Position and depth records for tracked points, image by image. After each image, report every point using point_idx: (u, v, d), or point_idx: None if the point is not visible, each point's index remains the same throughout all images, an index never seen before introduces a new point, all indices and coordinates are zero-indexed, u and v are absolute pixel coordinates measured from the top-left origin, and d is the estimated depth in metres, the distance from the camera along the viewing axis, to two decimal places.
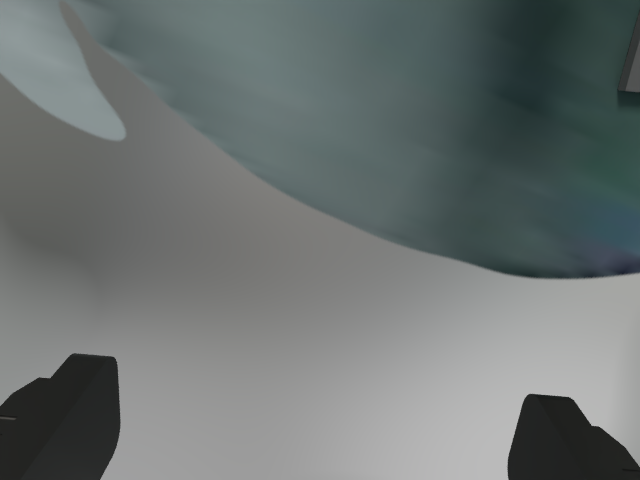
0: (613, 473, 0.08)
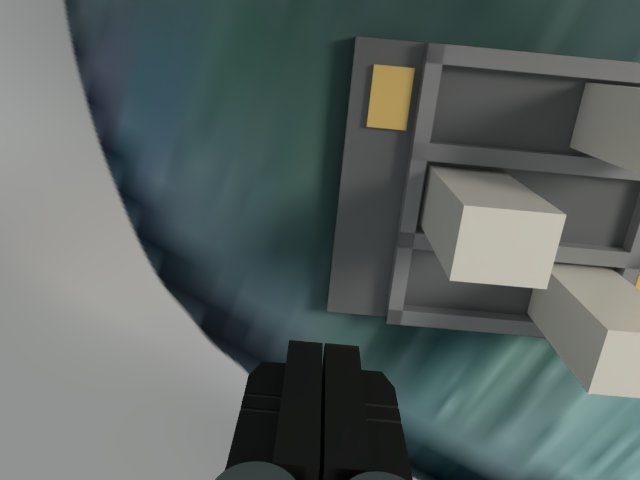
0: (354, 403, 0.09)
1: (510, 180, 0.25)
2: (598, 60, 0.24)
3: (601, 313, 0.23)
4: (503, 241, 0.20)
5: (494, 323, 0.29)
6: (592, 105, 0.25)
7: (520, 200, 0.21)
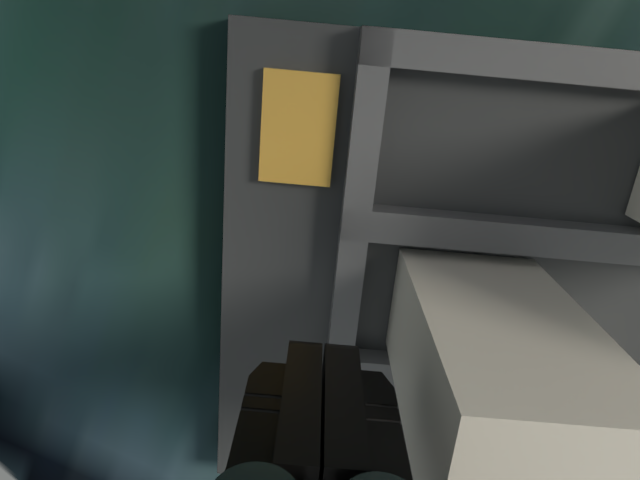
0: (354, 403, 0.09)
1: (548, 286, 0.13)
2: None
3: None
4: None
5: None
6: None
7: (585, 370, 0.10)
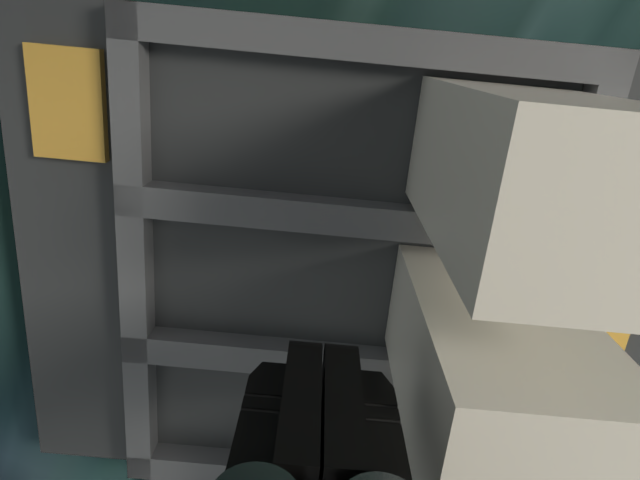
0: (354, 403, 0.09)
1: None
2: (433, 33, 0.13)
3: None
4: None
5: None
6: (425, 119, 0.13)
7: (580, 365, 0.10)
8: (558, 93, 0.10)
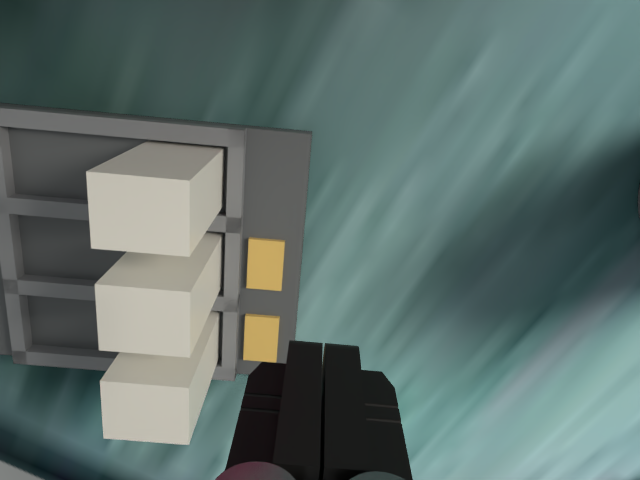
0: (354, 402, 0.09)
1: (209, 245, 0.27)
2: (142, 122, 0.26)
3: (123, 361, 0.25)
4: (139, 315, 0.22)
5: None
6: None
7: (171, 274, 0.23)
8: (170, 157, 0.24)
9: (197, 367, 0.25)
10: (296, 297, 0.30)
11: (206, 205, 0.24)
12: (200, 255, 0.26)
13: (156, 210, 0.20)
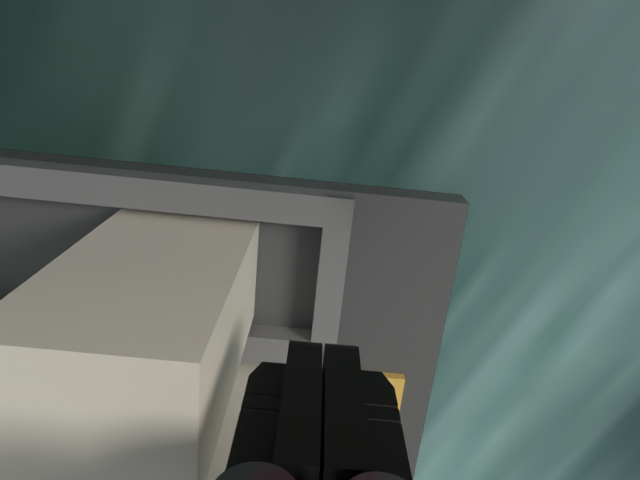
0: (354, 403, 0.09)
1: None
2: (169, 183, 0.14)
3: None
4: None
5: None
6: None
7: None
8: (160, 258, 0.12)
9: None
10: (414, 459, 0.18)
11: (230, 356, 0.12)
12: None
13: (121, 423, 0.09)
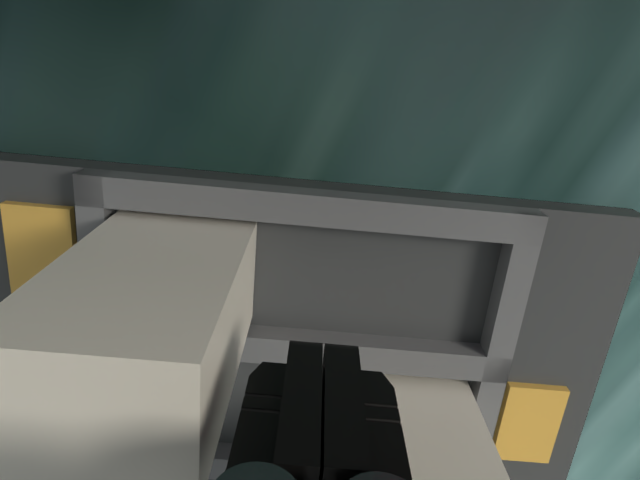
0: (354, 403, 0.09)
1: (470, 414, 0.15)
2: (366, 202, 0.14)
3: None
4: None
5: None
6: None
7: None
8: (159, 260, 0.12)
9: None
10: (566, 469, 0.18)
11: (230, 356, 0.12)
12: (479, 450, 0.14)
13: (122, 426, 0.09)
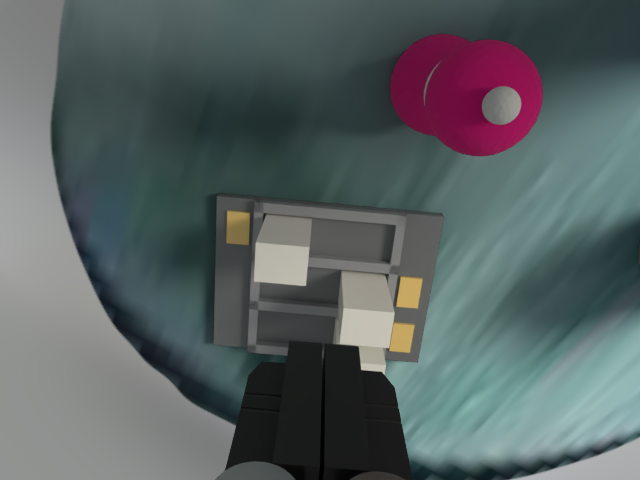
0: (354, 403, 0.09)
1: (383, 282, 0.45)
2: (347, 211, 0.45)
3: None
4: (364, 325, 0.41)
5: None
6: None
7: (377, 301, 0.42)
8: (288, 228, 0.42)
9: (383, 354, 0.44)
10: (425, 312, 0.49)
11: None
12: (383, 289, 0.44)
13: (290, 262, 0.39)
